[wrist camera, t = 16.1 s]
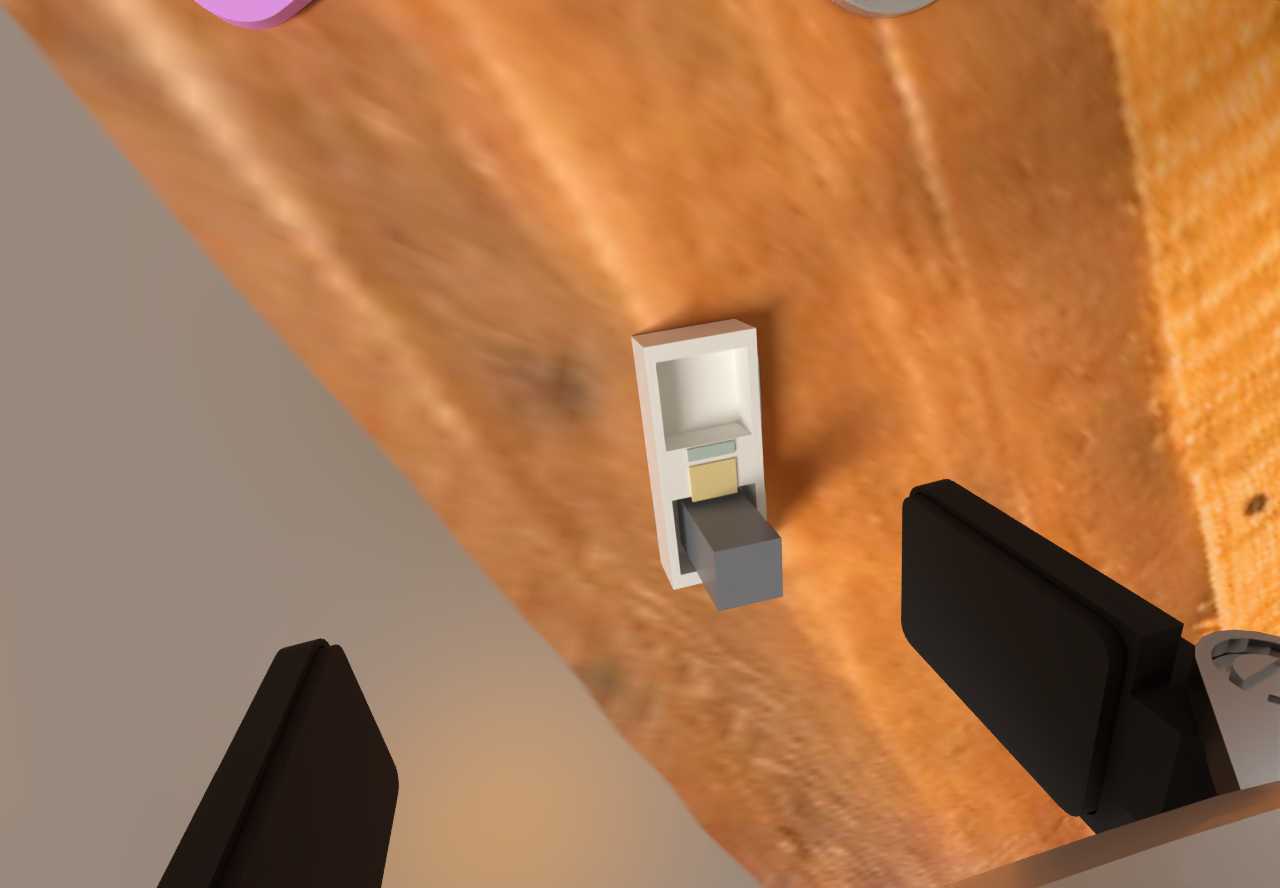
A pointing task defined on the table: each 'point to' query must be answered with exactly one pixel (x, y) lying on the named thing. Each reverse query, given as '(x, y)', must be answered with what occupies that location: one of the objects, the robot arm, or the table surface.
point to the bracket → (254, 11)
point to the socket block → (699, 424)
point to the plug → (731, 549)
